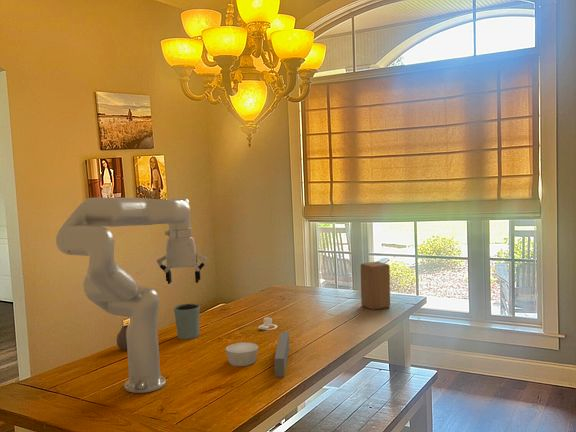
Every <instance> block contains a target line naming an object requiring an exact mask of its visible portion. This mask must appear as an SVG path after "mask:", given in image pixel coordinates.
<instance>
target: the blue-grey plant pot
mask: <svg viewBox="0 0 576 432" xmlns="http://www.w3.org/2000/svg"><path fill="white" fill-rule="evenodd" d="M200 309H201V308H200V305H199V304H198V303H197V304H196V303H184V304H183V303H181V304H178V305H176V306H174V307H173V312H174V317H175V327H176V334H177V336H176V337H177V338H178V339H180V340H192V339H195V338H198V337H199V335H200Z"/></svg>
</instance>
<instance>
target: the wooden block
mask: <svg viewBox="0 0 576 432" xmlns="http://www.w3.org/2000/svg"><path fill="white" fill-rule="evenodd" d="M390 270H391V269H390V264H388V263H385V262H380V261H371V262H363V263H360V296H361V297H360V300H361V301H360V302H361V306H363V307H364V308H367V309H369V310H372V311H374V310H380V309H381V310H382V309H387V308H390V306H391V282H390V281H391V280H390V279H391V276H390V275H391V274H390V272H391V271H390Z"/></svg>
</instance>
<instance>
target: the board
mask: <svg viewBox="0 0 576 432" xmlns="http://www.w3.org/2000/svg"><path fill="white" fill-rule="evenodd" d="M289 352H290V331H280V335H279V338H278V341H277V348H276V351H275V354H274V377H276V378H277V377H279V378H284V377H285V375H286V370H287V364H288V358H289Z"/></svg>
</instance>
